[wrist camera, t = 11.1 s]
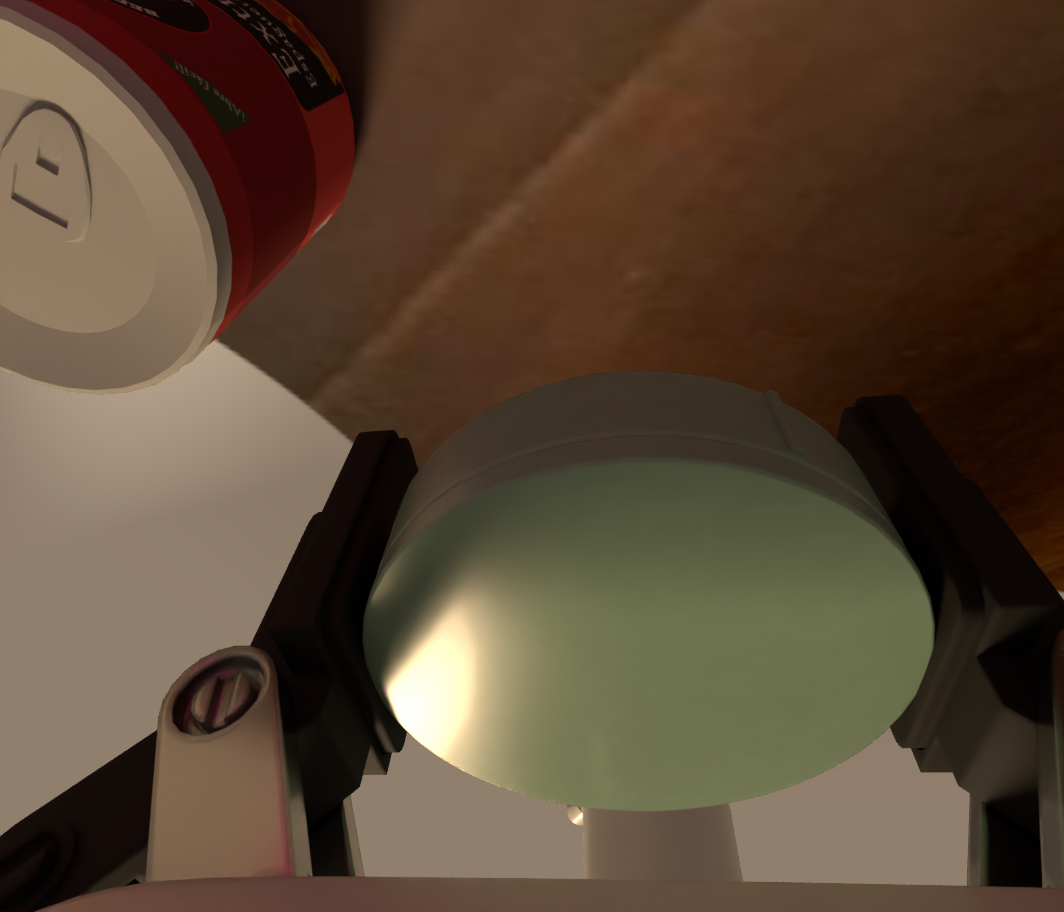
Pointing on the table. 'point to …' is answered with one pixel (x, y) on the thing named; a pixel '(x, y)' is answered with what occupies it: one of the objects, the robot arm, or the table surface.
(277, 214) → the canned food
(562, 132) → the table surface
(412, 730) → the lid
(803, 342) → the table surface
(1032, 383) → the table surface
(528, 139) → the table surface
